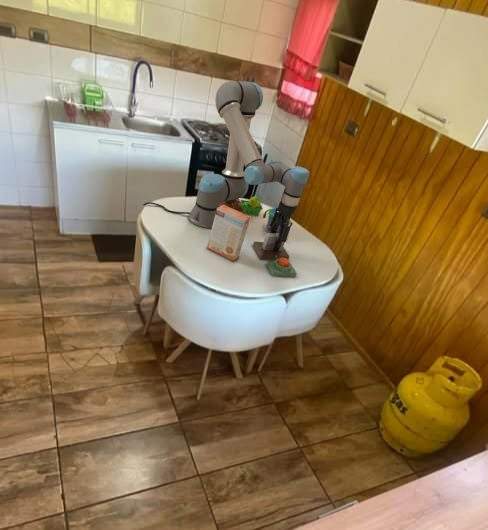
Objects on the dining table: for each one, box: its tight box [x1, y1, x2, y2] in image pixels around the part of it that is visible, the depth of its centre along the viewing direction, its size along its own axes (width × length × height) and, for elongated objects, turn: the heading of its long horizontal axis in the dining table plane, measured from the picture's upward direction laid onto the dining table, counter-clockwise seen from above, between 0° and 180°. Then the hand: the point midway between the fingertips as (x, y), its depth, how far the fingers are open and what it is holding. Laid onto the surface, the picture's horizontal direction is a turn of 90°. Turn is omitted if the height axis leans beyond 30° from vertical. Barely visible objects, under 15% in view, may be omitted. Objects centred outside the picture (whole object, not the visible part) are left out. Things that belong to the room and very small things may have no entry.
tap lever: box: [262, 232, 286, 251], centre depth 174 cm, size 9×3×8 cm, turn 100°
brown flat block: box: [252, 240, 290, 261], centre depth 177 cm, size 14×13×3 cm
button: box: [278, 258, 291, 267], centre depth 165 cm, size 4×4×2 cm
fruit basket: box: [240, 195, 264, 216], centre depth 205 cm, size 11×9×11 cm
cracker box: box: [206, 205, 252, 262], centre depth 165 cm, size 14×6×21 cm, turn 56°
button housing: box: [265, 259, 298, 278], centre depth 166 cm, size 11×8×4 cm
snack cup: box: [262, 207, 292, 234], centre depth 194 cm, size 16×10×10 cm
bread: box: [219, 198, 243, 213], centre depth 203 cm, size 19×11×10 cm, turn 19°
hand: (272, 246), depth 176 cm, fingers open, 7 cm apart
